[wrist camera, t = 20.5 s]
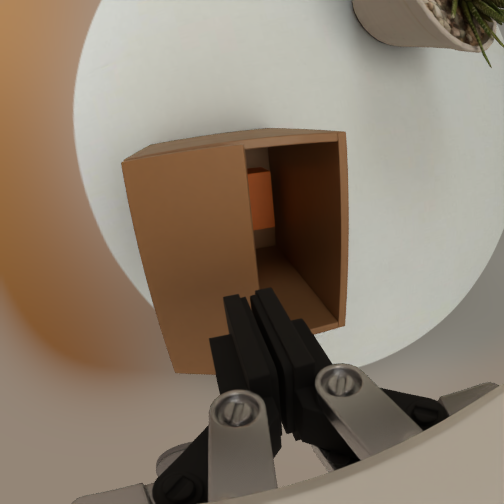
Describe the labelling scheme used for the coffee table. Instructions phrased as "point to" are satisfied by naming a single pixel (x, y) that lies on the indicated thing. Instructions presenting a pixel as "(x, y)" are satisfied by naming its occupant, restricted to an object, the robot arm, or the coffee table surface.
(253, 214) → the block
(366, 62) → the coffee table surface
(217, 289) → the carton flap
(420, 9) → the potted plant
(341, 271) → the carton
